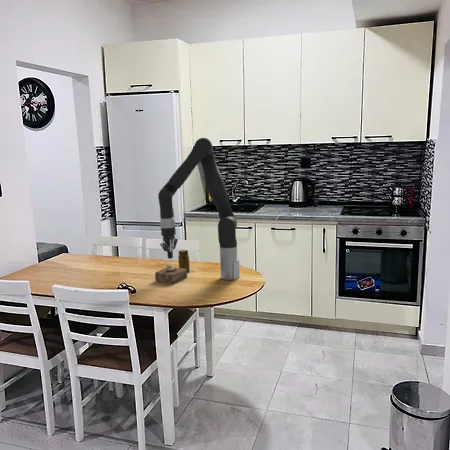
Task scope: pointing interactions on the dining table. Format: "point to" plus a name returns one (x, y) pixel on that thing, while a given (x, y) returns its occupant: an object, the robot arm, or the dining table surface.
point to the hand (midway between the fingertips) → (170, 258)
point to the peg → (170, 268)
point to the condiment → (184, 260)
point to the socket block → (171, 275)
